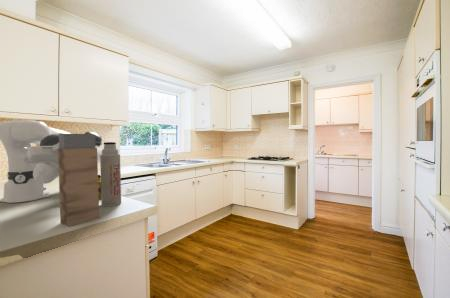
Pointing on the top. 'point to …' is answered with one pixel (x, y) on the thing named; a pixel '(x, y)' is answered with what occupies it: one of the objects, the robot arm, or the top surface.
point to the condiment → (99, 187)
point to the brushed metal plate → (77, 141)
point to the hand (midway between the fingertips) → (68, 143)
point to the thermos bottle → (110, 175)
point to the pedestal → (78, 185)
